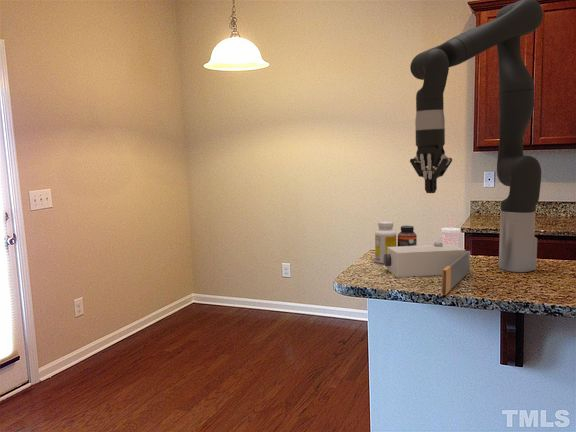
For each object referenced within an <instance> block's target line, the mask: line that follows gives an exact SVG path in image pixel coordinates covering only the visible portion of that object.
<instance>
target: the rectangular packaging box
mask: <svg viewBox="0 0 576 432" xmlns="http://www.w3.org/2000/svg"><path fill="white" fill-rule="evenodd" d="M465 252H466V249H464V248H462V247H460V246H458V247H457V246H455V245H452V244H443V242H434V243H433V244H427V245H425V244H424V245H416V246H399V247H398V246H396V247H387V254H384V258H383V260H384V264H383V265H384V266H385V267H386V271H388V272H389V273H390V272H391V273H390V274H392V275H393V276H394V277H396V278H411V277H413V276H416V277H429V276H430V277H431V276H434V275H435V276H442V275H443V269H444V268H446V267H447V266H449V265H450V264H451V263H452V262H454V261H455V260H456V259H457V258H459V257H460V256H461V255H462V254H464V253H465ZM413 278H414V277H413Z"/></svg>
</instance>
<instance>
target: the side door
mask: <svg viewBox="0 0 576 432" xmlns="http://www.w3.org/2000/svg"><path fill="white" fill-rule="evenodd" d="M470 268H471V251H470V250H465V253H464V254H462V255H461V256H460V257H459V258H457V259H456V260H455V261H454V262H452V263H451V264H450V265H449V266H447V267H446V268H444V269H443V275H441V276H442V277H441V279H442V280H441V282H442V285H441V286H442V288H441V290H442V291H441V295H445V296H446V295H447V294H448V293H449V292H450V291H451V290H452V289H454V288H455V286H456V285H457V284H458V283H460V281H461V280H462V279H463V278H465V277H466V276H467V275H468V273H471V269H470Z"/></svg>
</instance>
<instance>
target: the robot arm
mask: <svg viewBox="0 0 576 432" xmlns="http://www.w3.org/2000/svg"><path fill="white" fill-rule="evenodd" d="M543 18H544V10H543V7H542V6H541V4H540V2H538V1H537V0H518V1H515V2H513V3H510V4H508V5H505V6H503V7H502V8H500V10H498V11H497V14H496V16H495V19H493V20H491V21H488V22H486V23H484V24H480V25H478V26H476V27H473V28H470V29H468V30H466V31H464V32H462V33H459V34H458V35H455V36H454V37H451V38H450V39H448V40H446V41H444V42H443V43H441V44H439V45H436V46H434V47H431V48H428V49H426V50H424V51H422V52H420V53H418V54H416V56H414V57H413V58H412V60H411V62H410V69H409V70H410V73H411V75H412V76H413V77H414V78H415V79H417V80H423V85H422V87H421V88H420V89H418V90H417V92H416V95H415V109H416V110H415V111H416V112H415V113H416V114H415V120H414V122H415V124H414V125H415V131H414V132H415V146H416V147H417V149H416V152H415V153H416V154H415V156H414V157H413V158H410V160H409V163H410V164H411V166H412V167H413V169H414V171H415V173H416V174H417V176H418V177H421V178H423V179H424V190H425V193H426V194H435V193H436V191H437V188H438V186H437V184H438V183H437V182H438V180H437V179H438V178H441V177H443V176H444V175H445V173H446V172H447V170H448V168H449V166H450V165H451V164H452V162H453V159H452V157H448V156H447V155H446V154H445V153H446V152H445V149H444V146H445V144H446V138H445V137H446V132H445V131H446V128H445V125H446V121H445V120H446V119H445V113H444V112H445V111H444V109H445V108H444V92H445V90H446V89H445V88H446V85H447V80H448V77H449V72H450V71H449V70H450V68H452V67H455V66H458V65H460V64H463V63H465V62H467V61H468V60H470V59H472V58H474V57H477V56H478V55H480V54H482V53H484V52H485V51H487V50H490V49H491V48H492V47H495V46H496V49H497V60H498V61H497V62H498V113H499V115H498V116H499V119H498V121H499V126H498V127H499V131H498V135H499V138H498V149H497V150H498V151H497V162H496V176H497V178H498V180H499V182H500V184H502V185H504V186H506V187H509V191H508V196H507V197H506V198H505V199H503V200H502V201H501V202H500V215H499V216H500V217H499V220H500V222H499V245H498V246H499V247H498V250H499V251H498V269H499V270H502V271H506V272H514V273H527V272H532V271H536V270H537V255H538V253H537V252H538V238H537V237H536V236H535V231H536V229H535V228H536V209H537V207H536V206H537V205H538V203H539V200H540V193H541V183H542V167H541V164H540V162H539V160H538V159H537V158H536V157H534V156H532V155H524V137H525V133H526V130H527V128H528V125H529V123H530V122H531V121H530V120H531V118H532V116H533V113H534V109H535V83H534V82H535V81H534V79H533V77H532V75H531V73H530V71H529V70H528V67H527V66H526V65H525V62H524V61H523V58H522V53H521V49H522V48H521V37H523V36H526V35H529V34H532V33H533V32H534V31H536V30H537V29H538V28H539V27H540V25H541V24H542V21H543Z"/></svg>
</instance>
